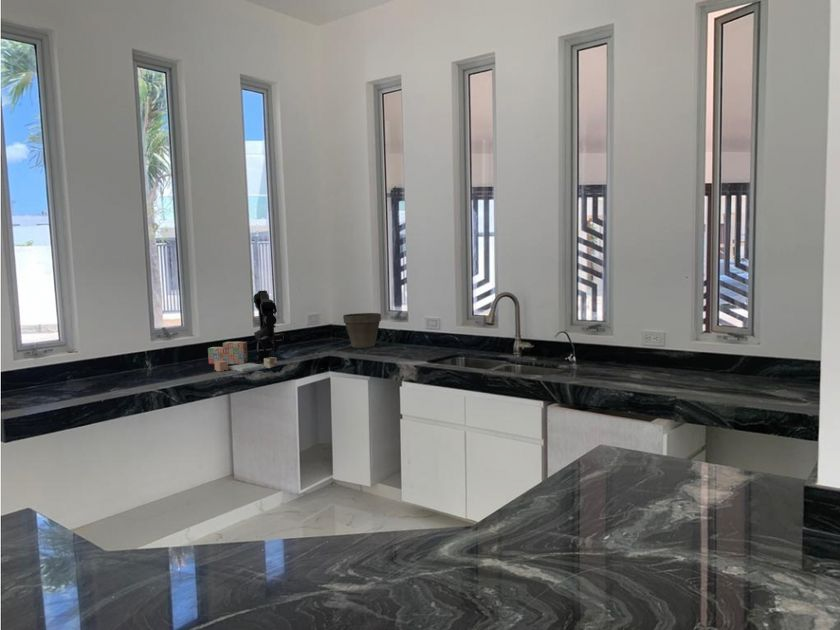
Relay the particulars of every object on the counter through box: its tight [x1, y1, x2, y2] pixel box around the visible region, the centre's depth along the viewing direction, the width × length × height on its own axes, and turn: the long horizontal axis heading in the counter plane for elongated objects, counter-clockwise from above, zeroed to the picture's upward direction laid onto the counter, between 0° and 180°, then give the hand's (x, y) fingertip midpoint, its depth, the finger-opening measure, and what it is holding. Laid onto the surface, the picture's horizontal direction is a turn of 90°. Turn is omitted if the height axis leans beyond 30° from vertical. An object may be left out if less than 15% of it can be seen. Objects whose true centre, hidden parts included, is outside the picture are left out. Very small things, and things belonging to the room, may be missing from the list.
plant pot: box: [343, 312, 382, 349], centre depth 438 cm, size 25×25×22 cm
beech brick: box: [263, 356, 278, 369], centre depth 368 cm, size 5×5×5 cm
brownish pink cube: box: [213, 361, 229, 372], centre depth 361 cm, size 5×5×5 cm
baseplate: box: [228, 362, 265, 373], centre depth 365 cm, size 14×14×2 cm
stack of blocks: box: [207, 341, 249, 365], centre depth 386 cm, size 21×6×12 cm, turn 84°
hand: (269, 352), depth 368 cm, fingers open, 9 cm apart
